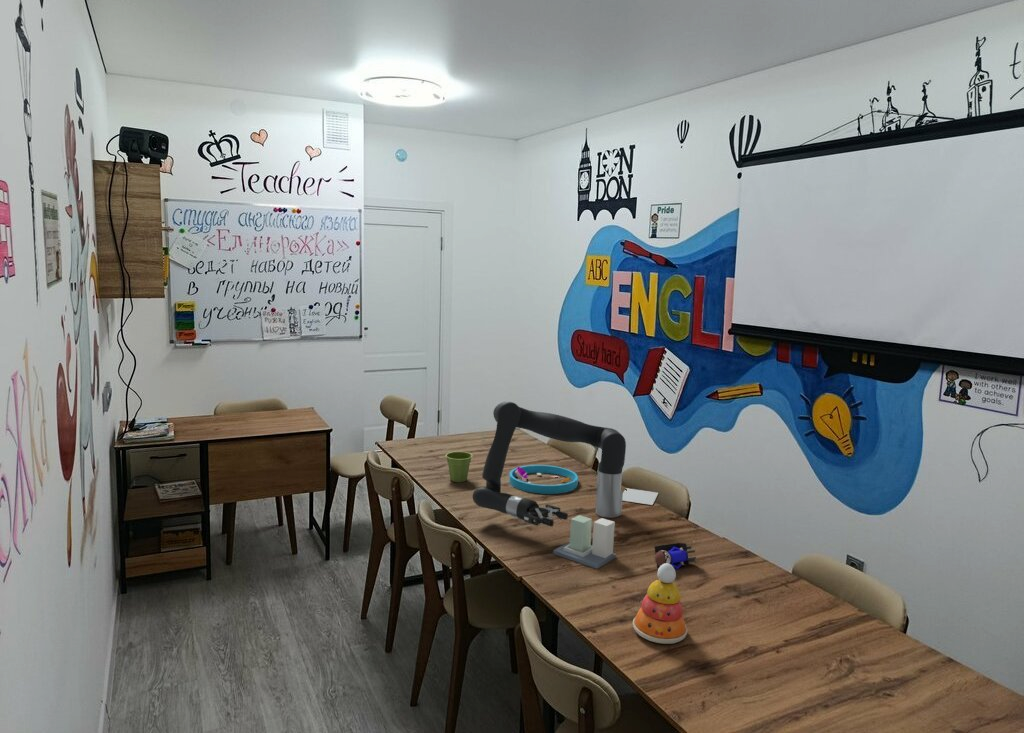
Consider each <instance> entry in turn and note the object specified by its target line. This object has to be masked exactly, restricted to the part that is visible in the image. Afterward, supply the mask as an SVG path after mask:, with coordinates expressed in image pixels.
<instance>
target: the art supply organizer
mask: <svg viewBox="0 0 1024 733" xmlns="http://www.w3.org/2000/svg"><path fill="white" fill-rule="evenodd" d="M549 473H550V476H549V477H550V478H554V479H555V477H558V478H557V479H559V478H561V477H564V476H565V478H563V479H562V480H561V482H562V483H559V484H538V483H537V484H536V483H533V482H532V481H528V480H527V478H528V474H536V476H538V477H540V476H542V474H549ZM556 474H557V475H556ZM508 476H509V477H508V480H509V482H508V483H509V484H510V485H511V487H513V488H515V489H517V490H520V491H523V492H528V493H532V494H540V495H542V494H543V495H544V494H545V495H551V494H552V495H553V494H555V495H556V494H564V493H567V492H568V491H569V492H571V491H574V490H576V489H577V487H578V485H579V476H578V474H577V473H576V472H574V471H572V470H570V469H568V468H565V467H560V466H556V465H555V466H554V465H548V464H547V465H546V464H529V465H522V466H518V467H515V468H513V469H511V470H510V471H509V475H508ZM516 477H517V478H519V479H517V478H516ZM570 480H571V481H570ZM572 480H573V481H572ZM568 481H569V482H568ZM565 482H567V483H565Z"/></svg>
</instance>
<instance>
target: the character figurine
mask: <svg viewBox="0 0 1024 733" xmlns="http://www.w3.org/2000/svg"><path fill="white" fill-rule="evenodd" d="M653 549H654V555H655V556H654V561H655V563H656V568H657V569H659V567H660V566H661V565H663V564H665V563H668V564H670V565H672V566H673V568H674V569H675V570H678V569H679V568H680V567H681V566H683V565H690V563H691V562H695V561H696V559H697V557H696V556H692V557H689V555H688V554H693V553H696V550H695V549H692V545H687V543H686V542H684V543H683V542H676V543H673V542H672V543H668V544H661V545H660V544H659V545H654V548H653Z"/></svg>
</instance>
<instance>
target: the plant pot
mask: <svg viewBox="0 0 1024 733" xmlns="http://www.w3.org/2000/svg"><path fill="white" fill-rule="evenodd" d="M445 458H446V462H447V466H448V473H449V478H450V479H449V480H450V481H451V482H454V483H461V482H467V481H468V477H469V476H468V474H469V470H470V464H471V462H472V458H473V454H472V453H470V452H468V451H467V452H466V451H451V452H447V453H446V454H445Z"/></svg>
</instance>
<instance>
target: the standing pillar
mask: <svg viewBox="0 0 1024 733" xmlns="http://www.w3.org/2000/svg"><path fill="white" fill-rule="evenodd" d="M615 523H616V522H615V521H613V520H609V519H608V518H604V517H601V518H599V519H596V520H595V521H593V528H592V529H593V530H592V554H594V555H597V556H600V557H603V558H606V557H608V556H610V555H611V554H613V553H614V542H615V541H614V540H615V526H616V525H615Z"/></svg>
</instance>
